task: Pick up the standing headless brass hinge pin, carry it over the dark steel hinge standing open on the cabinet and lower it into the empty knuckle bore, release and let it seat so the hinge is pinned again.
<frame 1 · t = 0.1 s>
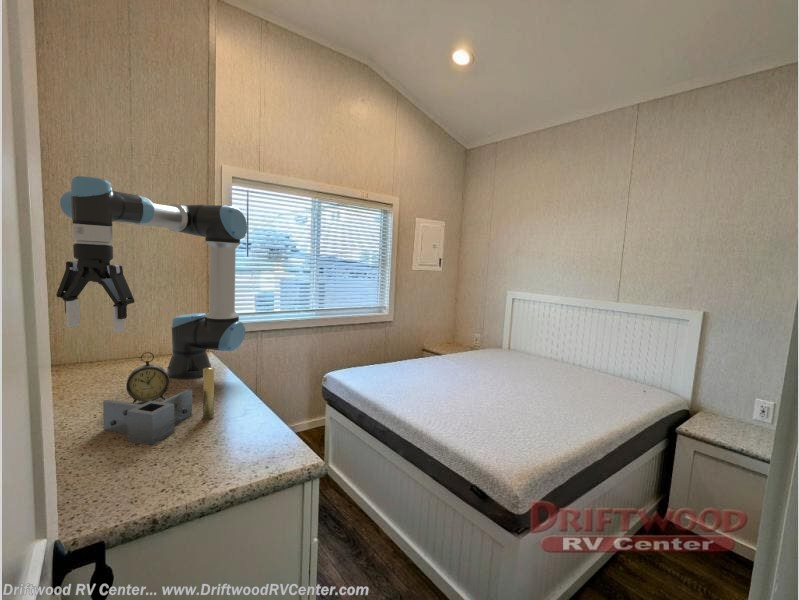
hand: (96, 329, 94), 28 cm above the cabinet, fingers open, 13 cm apart
alarm clock: (148, 402, 119), on the cabinet
hinge leaves: (151, 436, 99), on the cabinet
hinge pin: (208, 417, 111), on the cabinet
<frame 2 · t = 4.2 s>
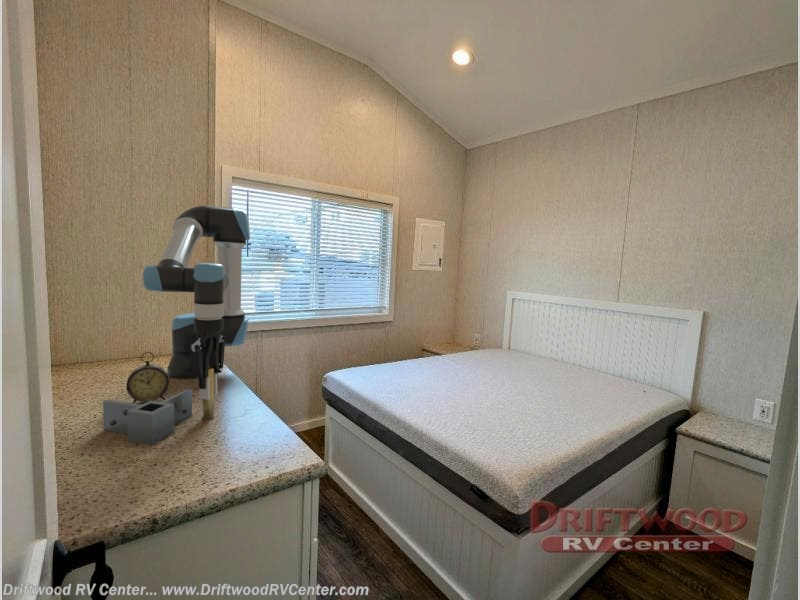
hand: (208, 396, 111), 7 cm above the cabinet, fingers closed on hinge pin, 3 cm apart
hinge pin: (208, 417, 111), on the cabinet, touching gripper
everything else where it was.
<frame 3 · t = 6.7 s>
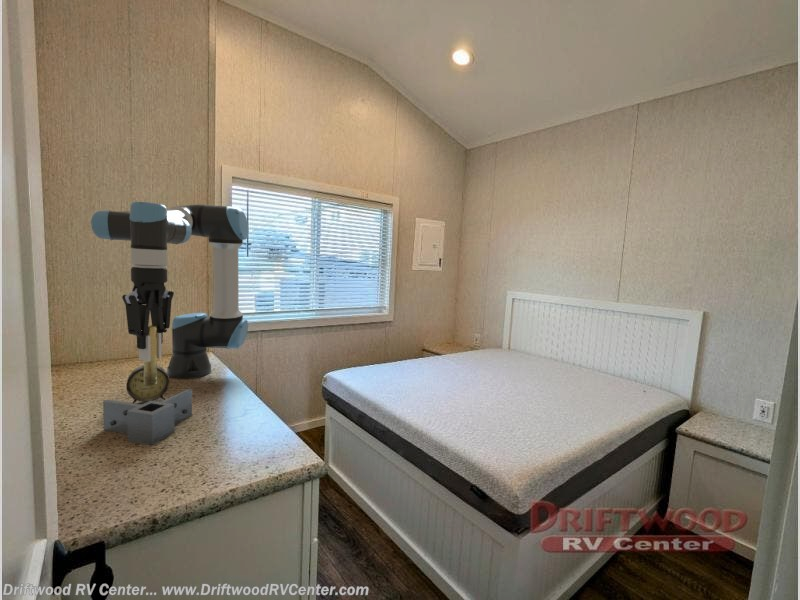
hand: (150, 358, 96), 21 cm above the cabinet, fingers closed on hinge pin, 3 cm apart
hinge pin: (150, 383, 97), point 14 cm above the cabinet, touching gripper
everything else where it was.
when the fingers open (9 cm above the cabinet, at t = 9.2 s): hinge pin drops 3 cm, resting in hinge leaves.
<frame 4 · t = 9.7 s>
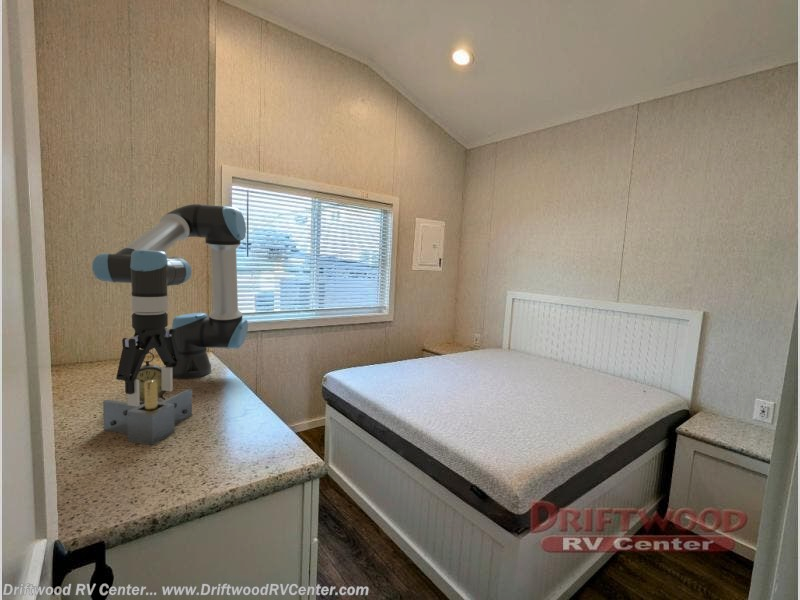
hand: (151, 397, 97), 11 cm above the cabinet, fingers open, 10 cm apart
hinge pin: (151, 436, 99), resting in hinge leaves
everything else where it was.
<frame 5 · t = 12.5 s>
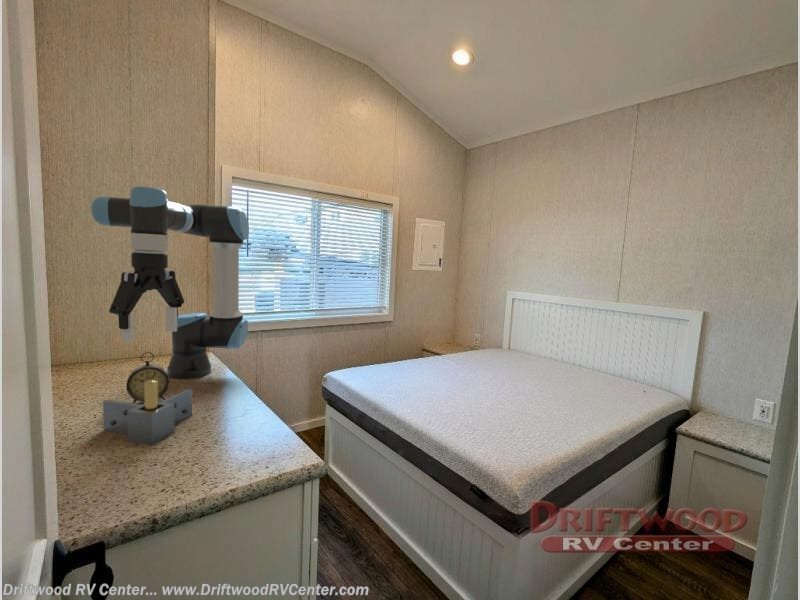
hand: (151, 336, 96), 27 cm above the cabinet, fingers open, 13 cm apart
nothing on the cabinet moved.
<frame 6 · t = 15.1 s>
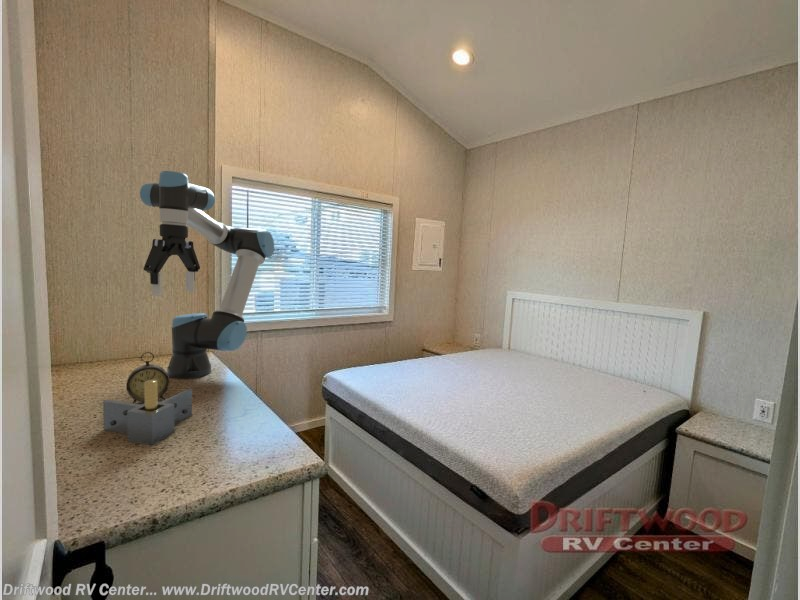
hand: (174, 293, 118), 35 cm above the cabinet, fingers open, 13 cm apart
nothing on the cabinet moved.
at the end: hinge pin 0.1 cm off-centre on the hinge leaves, point 0.0 cm above the hinge leaves's base; hinge pin tilted 0°; the gripper is holding nothing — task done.
